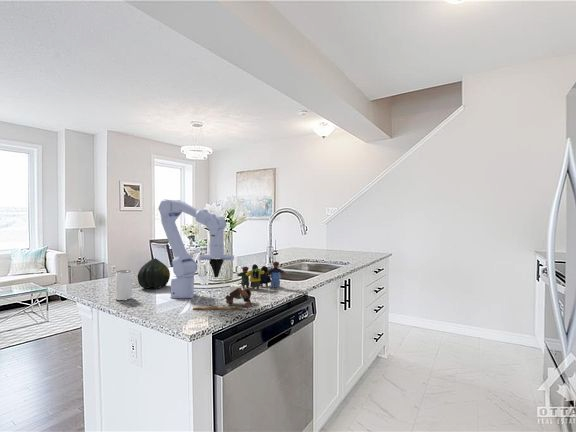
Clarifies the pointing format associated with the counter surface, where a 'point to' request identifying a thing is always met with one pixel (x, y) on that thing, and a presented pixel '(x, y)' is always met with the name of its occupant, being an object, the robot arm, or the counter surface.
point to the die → (234, 287)
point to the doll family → (264, 277)
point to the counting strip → (218, 308)
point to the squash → (153, 274)
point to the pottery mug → (236, 294)
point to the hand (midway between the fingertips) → (216, 276)
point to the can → (123, 285)
